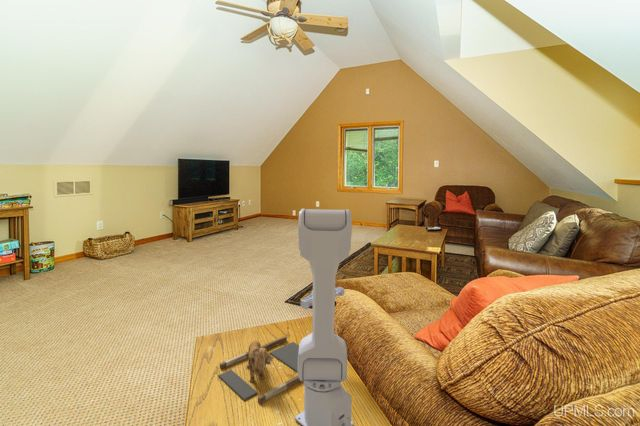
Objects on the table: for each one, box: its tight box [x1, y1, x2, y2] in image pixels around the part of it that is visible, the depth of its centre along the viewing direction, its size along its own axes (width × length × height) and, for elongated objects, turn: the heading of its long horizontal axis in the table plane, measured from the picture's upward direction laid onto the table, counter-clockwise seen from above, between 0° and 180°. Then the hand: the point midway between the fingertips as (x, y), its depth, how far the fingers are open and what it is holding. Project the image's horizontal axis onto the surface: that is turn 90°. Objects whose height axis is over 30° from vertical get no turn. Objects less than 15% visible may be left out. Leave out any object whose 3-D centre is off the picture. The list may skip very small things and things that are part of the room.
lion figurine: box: [246, 340, 274, 383], centre depth 85 cm, size 15×5×9 cm, turn 25°
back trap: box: [269, 341, 299, 373], centre depth 92 cm, size 12×8×1 cm
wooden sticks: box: [219, 335, 301, 404], centre depth 87 cm, size 18×22×1 cm
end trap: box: [217, 369, 258, 401], centre depth 80 cm, size 12×4×1 cm, turn 44°
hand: (323, 326), depth 90 cm, fingers closed
